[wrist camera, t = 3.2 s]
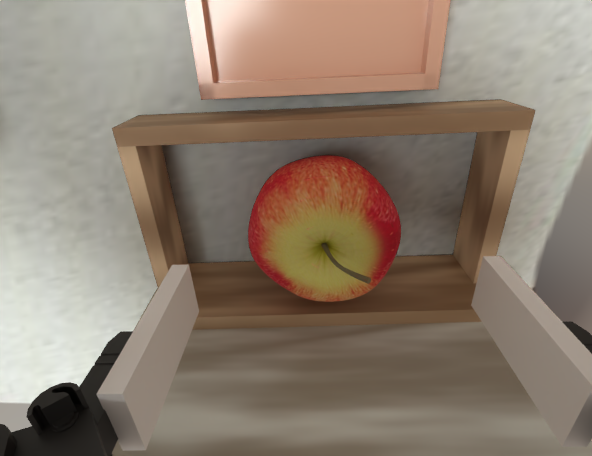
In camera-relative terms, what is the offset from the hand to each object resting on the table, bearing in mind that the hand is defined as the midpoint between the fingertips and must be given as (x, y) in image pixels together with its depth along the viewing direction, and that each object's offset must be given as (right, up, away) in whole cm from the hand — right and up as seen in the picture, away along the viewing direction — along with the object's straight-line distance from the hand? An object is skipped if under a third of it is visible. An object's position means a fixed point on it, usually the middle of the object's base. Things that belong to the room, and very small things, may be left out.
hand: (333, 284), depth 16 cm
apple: (0, +5, +8) cm, 10 cm away
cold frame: (0, +5, +8) cm, 9 cm away
